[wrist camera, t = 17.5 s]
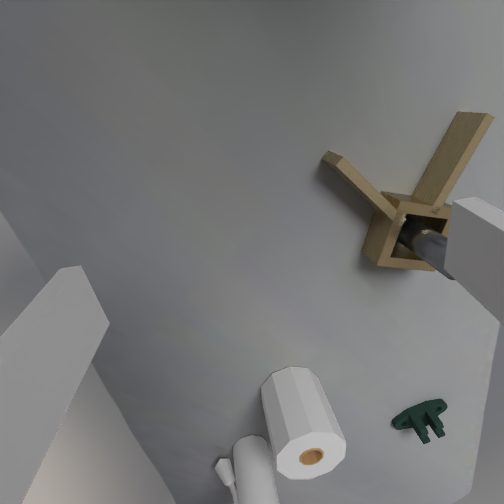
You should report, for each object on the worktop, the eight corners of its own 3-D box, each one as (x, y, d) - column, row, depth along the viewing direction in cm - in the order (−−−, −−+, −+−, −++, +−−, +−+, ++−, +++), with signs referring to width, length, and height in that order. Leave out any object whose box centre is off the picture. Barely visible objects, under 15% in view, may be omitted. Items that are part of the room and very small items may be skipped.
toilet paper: (323, 398, 59) (351, 466, 48) (267, 416, 59) (284, 488, 48) (312, 358, 55) (341, 423, 44) (253, 377, 54) (267, 447, 44)
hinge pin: (392, 211, 45) (453, 248, 35) (414, 214, 46) (481, 252, 35) (382, 235, 47) (438, 278, 36) (404, 238, 47) (466, 281, 37)
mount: (441, 393, 64) (460, 415, 60) (444, 407, 66) (462, 430, 62) (389, 415, 64) (403, 439, 60) (393, 428, 66) (407, 452, 62)
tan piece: (340, 85, 37) (357, 84, 33) (473, 115, 41) (503, 117, 37) (299, 244, 45) (309, 259, 41) (414, 257, 49) (434, 271, 45)
